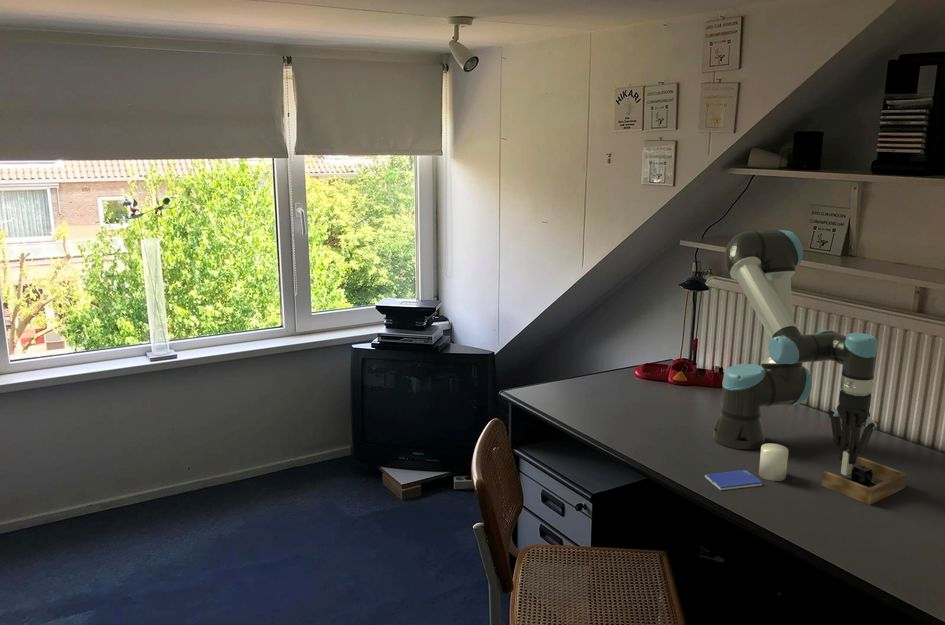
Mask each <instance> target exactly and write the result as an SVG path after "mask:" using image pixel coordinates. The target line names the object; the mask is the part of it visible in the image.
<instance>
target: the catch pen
mask: <svg viewBox="0 0 945 625" xmlns="http://www.w3.org/2000/svg"><path fill="white" fill-rule="evenodd" d="M860 464H861V465H863V466H865V468H867V467H868V468H870V469H872V473H873V475H872V479H876V480H879V481H880V482H879V483H877V485H875V486H873V487H871V488H869V487H866V486H864V485H861V484H858V483H856V482H853V481H851V480H848V479H845V478H843V477H840V476H841V475H837V474H835V473H832V472H829V471H827V470H825V471H823V473H822V481H821V486H822V487H824V488H826V489H829V490H832V491H834V492H836V493H838V494H841V495H844V496H847V497H849V498H851V499H854V500H856V501H859V502H862V503H863V504H866V505H869V506H871V505H874V504H875V503H877V502H879V501H881V500H884V499H886V498H887V497H890V496H891V495H894V494H896V493H897V492H899V491H901V490H904V489H905V488H906V487H907V479H908V473H906V472H904V471H900V470H899V469H896V468H892V467H889V466H887V465H884V464H881V463H878V462H875V461H872V460H869V459H867V458H864V457H861V456H857V457H856V463H855V466H857V465H860Z"/></svg>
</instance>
